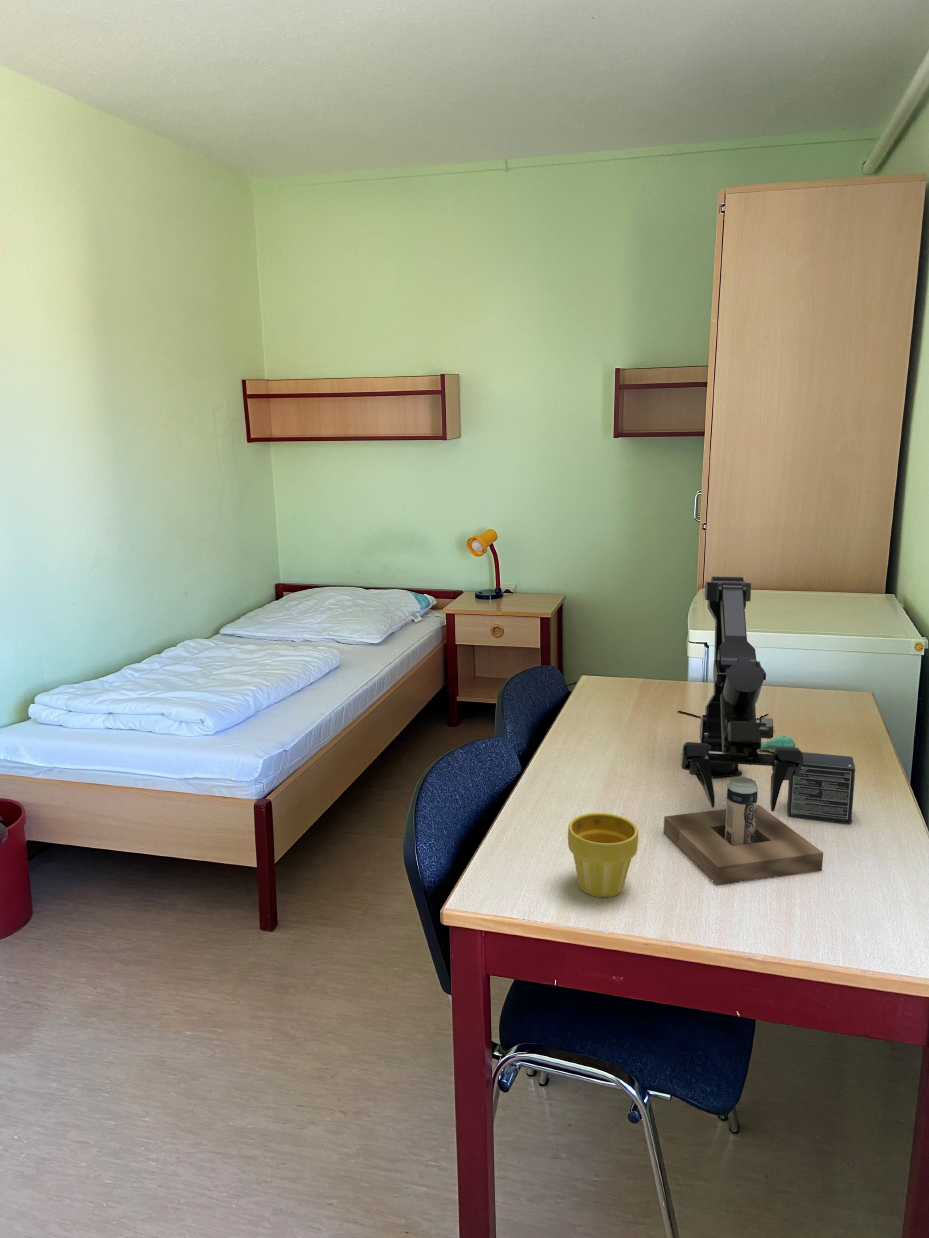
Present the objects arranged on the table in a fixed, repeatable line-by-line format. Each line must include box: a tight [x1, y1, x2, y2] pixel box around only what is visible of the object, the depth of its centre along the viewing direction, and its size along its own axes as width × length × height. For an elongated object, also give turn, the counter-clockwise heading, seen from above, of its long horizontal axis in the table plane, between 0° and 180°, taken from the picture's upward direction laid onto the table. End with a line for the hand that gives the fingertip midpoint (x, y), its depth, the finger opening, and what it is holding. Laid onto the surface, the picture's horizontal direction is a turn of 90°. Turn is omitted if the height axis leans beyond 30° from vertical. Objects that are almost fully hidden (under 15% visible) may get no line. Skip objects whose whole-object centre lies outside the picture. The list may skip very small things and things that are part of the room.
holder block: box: [663, 804, 824, 886], centre depth 141 cm, size 18×18×3 cm
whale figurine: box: [760, 735, 796, 753], centre depth 184 cm, size 6×7×4 cm
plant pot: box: [567, 812, 639, 898], centre depth 130 cm, size 10×10×10 cm
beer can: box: [725, 776, 759, 846], centre depth 140 cm, size 5×5×12 cm
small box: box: [786, 751, 857, 825], centre depth 154 cm, size 11×6×10 cm, turn 71°
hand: (742, 808), depth 138 cm, fingers open, 9 cm apart
